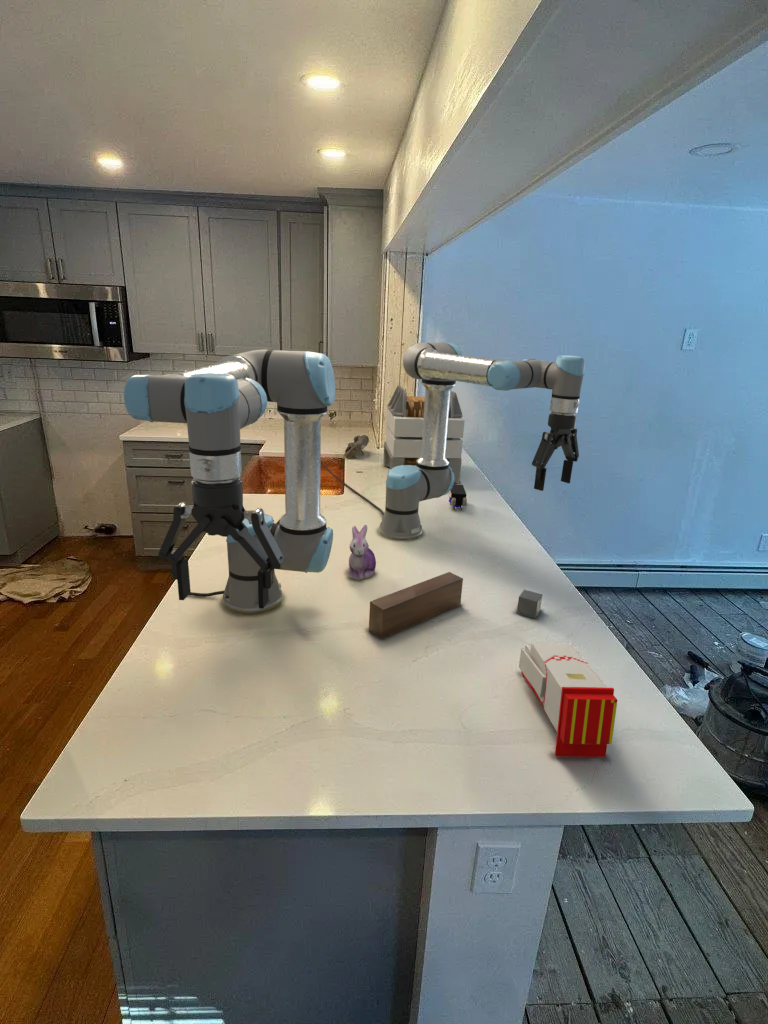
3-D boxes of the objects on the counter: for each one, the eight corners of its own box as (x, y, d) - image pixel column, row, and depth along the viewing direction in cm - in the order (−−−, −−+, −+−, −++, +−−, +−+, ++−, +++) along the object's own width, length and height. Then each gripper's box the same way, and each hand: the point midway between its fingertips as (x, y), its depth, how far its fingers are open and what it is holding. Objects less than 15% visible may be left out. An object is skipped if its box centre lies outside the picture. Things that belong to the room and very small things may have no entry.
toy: (567, 625, 127) (627, 695, 97) (561, 680, 130) (618, 764, 100) (513, 624, 126) (557, 694, 97) (508, 679, 129) (550, 763, 100)
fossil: (345, 441, 314) (366, 425, 309) (355, 454, 317) (377, 439, 312) (338, 454, 294) (361, 438, 289) (350, 469, 297) (372, 453, 292)
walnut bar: (368, 630, 140) (369, 601, 137) (447, 597, 157) (449, 571, 154) (381, 639, 136) (383, 609, 133) (460, 605, 153) (463, 578, 151)
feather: (291, 508, 223) (294, 504, 222) (274, 533, 196) (277, 528, 195) (287, 506, 222) (290, 502, 222) (270, 530, 196) (272, 526, 195)
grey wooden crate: (382, 463, 289) (386, 382, 275) (445, 464, 293) (451, 384, 279) (390, 482, 257) (394, 392, 243) (460, 483, 261) (468, 394, 247)
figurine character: (467, 515, 225) (461, 499, 238) (469, 498, 221) (463, 482, 235) (450, 514, 224) (445, 498, 238) (452, 497, 221) (447, 482, 234)
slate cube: (516, 613, 151) (518, 596, 149) (521, 605, 155) (524, 589, 153) (535, 618, 148) (537, 601, 147) (540, 610, 152) (542, 594, 151)
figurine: (354, 583, 162) (355, 534, 157) (340, 569, 171) (341, 522, 166) (383, 577, 167) (385, 530, 161) (368, 563, 175) (369, 518, 170)
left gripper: (126, 478, 85) (141, 603, 92) (289, 491, 82) (291, 619, 89) (151, 465, 92) (163, 583, 99) (302, 477, 89) (303, 597, 96)
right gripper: (548, 419, 148) (537, 496, 155) (598, 411, 163) (586, 482, 171) (525, 414, 153) (515, 489, 160) (575, 407, 169) (564, 476, 176)
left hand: (224, 600), depth 94 cm, fingers open, 13 cm apart
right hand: (552, 485), depth 166 cm, fingers open, 13 cm apart
